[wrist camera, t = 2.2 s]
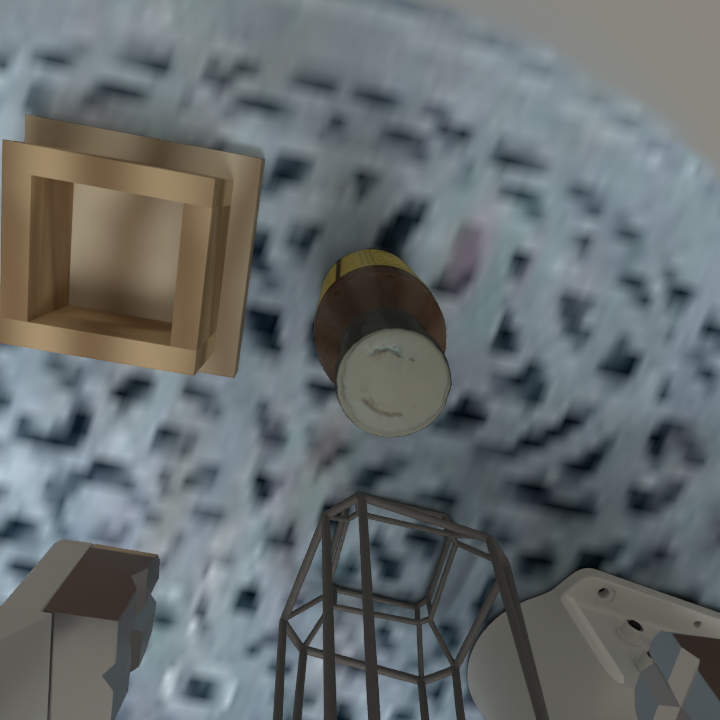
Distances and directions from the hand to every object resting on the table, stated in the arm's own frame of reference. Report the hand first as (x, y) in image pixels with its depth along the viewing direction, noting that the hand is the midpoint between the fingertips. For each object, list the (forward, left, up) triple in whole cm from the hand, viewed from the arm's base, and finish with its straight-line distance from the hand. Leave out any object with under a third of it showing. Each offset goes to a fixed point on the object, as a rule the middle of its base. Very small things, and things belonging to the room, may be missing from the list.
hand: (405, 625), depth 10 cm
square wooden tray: (+15, 0, -31) cm, 34 cm away
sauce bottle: (0, 0, -31) cm, 31 cm away
